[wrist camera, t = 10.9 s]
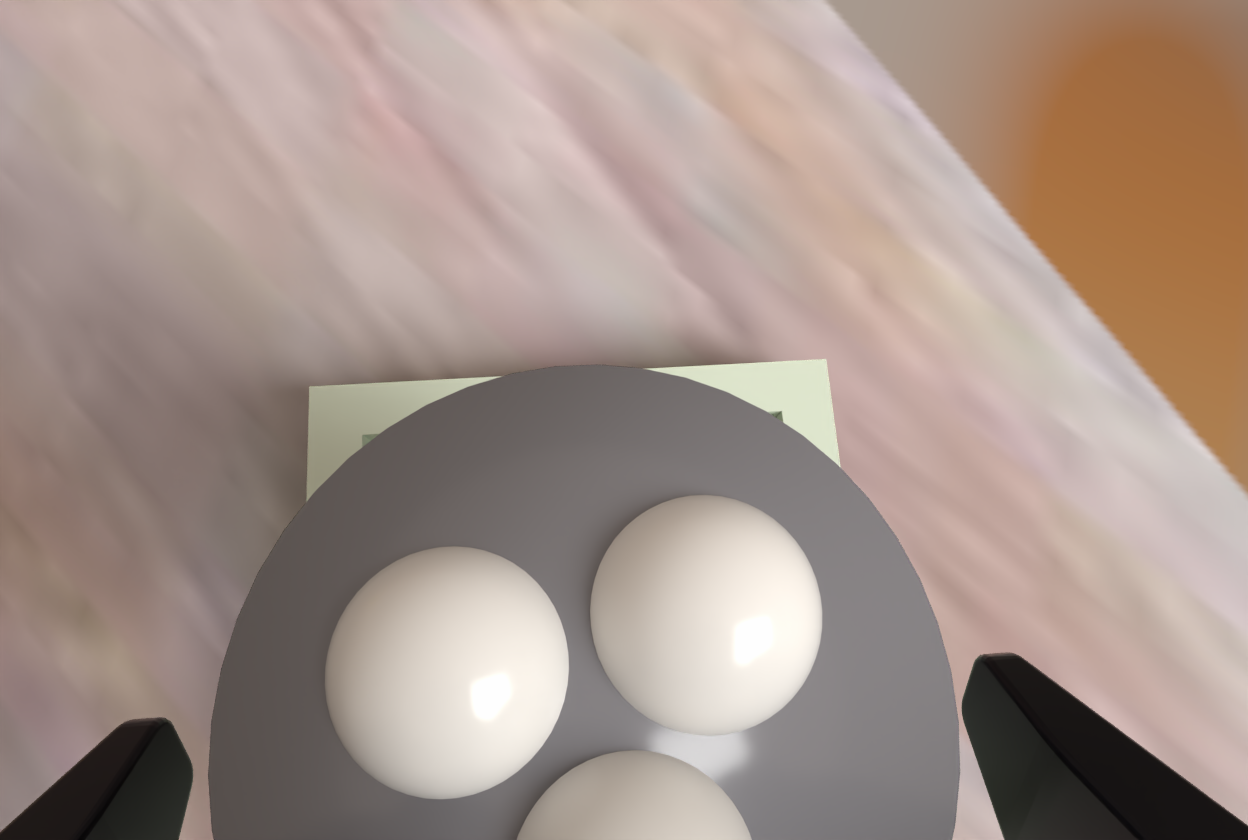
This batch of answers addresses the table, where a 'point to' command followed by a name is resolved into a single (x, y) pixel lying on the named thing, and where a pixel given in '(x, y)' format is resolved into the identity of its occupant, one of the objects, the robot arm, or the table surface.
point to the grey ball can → (586, 635)
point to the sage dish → (370, 408)
